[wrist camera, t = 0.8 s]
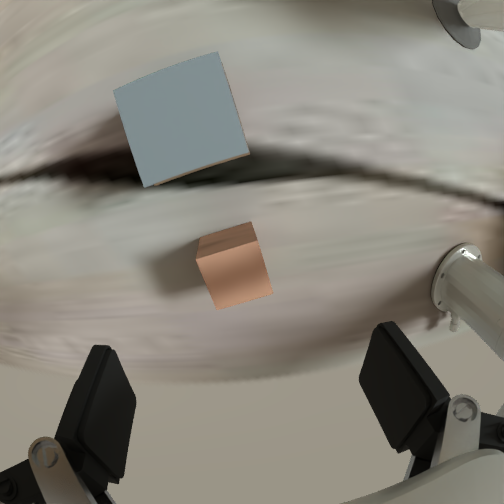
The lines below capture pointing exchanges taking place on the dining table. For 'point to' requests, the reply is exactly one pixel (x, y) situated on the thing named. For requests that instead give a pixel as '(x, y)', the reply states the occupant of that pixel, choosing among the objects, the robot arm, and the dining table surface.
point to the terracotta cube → (233, 266)
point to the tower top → (180, 119)
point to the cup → (470, 18)
